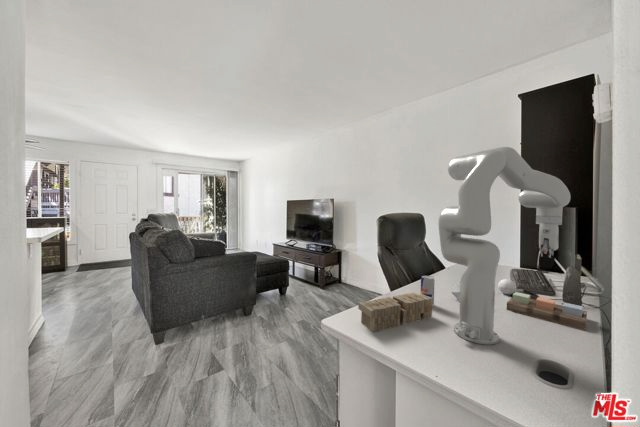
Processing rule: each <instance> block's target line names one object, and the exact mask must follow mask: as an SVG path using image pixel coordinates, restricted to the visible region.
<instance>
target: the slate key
mask: <svg viewBox="0 0 640 427" xmlns="http://www.w3.org/2000/svg"><path fill="white" fill-rule="evenodd" d="M562 306H563V308H562V313H565V314H569V315H573V316H577V317H581V318H582V314H583V310H584V308H583V306H582V305H577V304H573V303H569V302H563V304H562Z"/></svg>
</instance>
